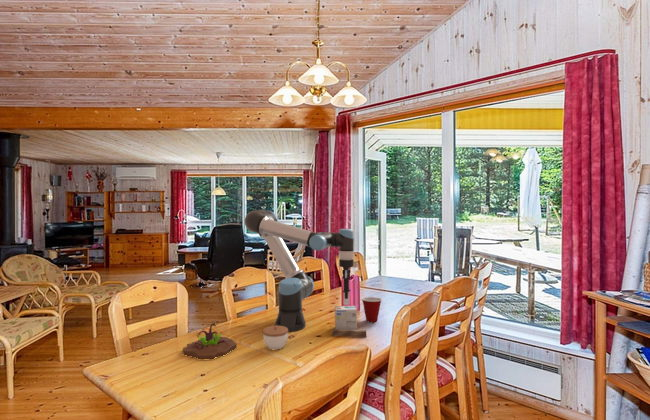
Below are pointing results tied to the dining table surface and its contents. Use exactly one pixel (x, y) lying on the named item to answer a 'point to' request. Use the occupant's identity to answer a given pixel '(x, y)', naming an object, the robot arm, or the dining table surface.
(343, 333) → the walnut stop rail
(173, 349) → the dining table surface
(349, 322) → the light bulb box
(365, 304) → the plastic cup
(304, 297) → the robot arm
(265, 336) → the lidded jar
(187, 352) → the plant
